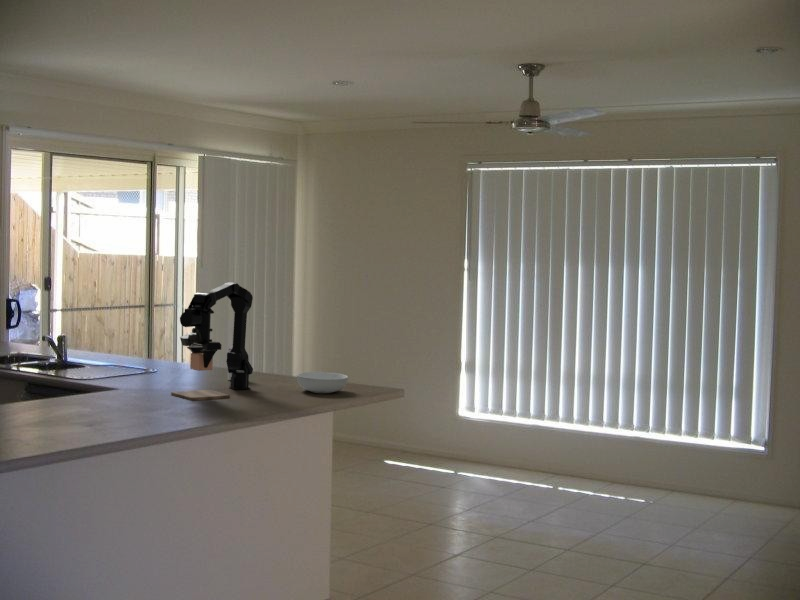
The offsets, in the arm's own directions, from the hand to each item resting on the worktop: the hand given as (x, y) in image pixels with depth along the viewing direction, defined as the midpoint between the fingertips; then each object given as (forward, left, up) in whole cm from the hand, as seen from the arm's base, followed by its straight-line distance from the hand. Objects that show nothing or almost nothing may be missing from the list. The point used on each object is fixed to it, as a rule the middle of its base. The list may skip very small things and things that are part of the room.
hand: (201, 366), depth 357 cm
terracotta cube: (0, 0, -1) cm, 1 cm away
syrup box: (-36, -32, -12) cm, 49 cm away
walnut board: (0, 0, -11) cm, 11 cm away
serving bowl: (-49, +12, -12) cm, 52 cm away
